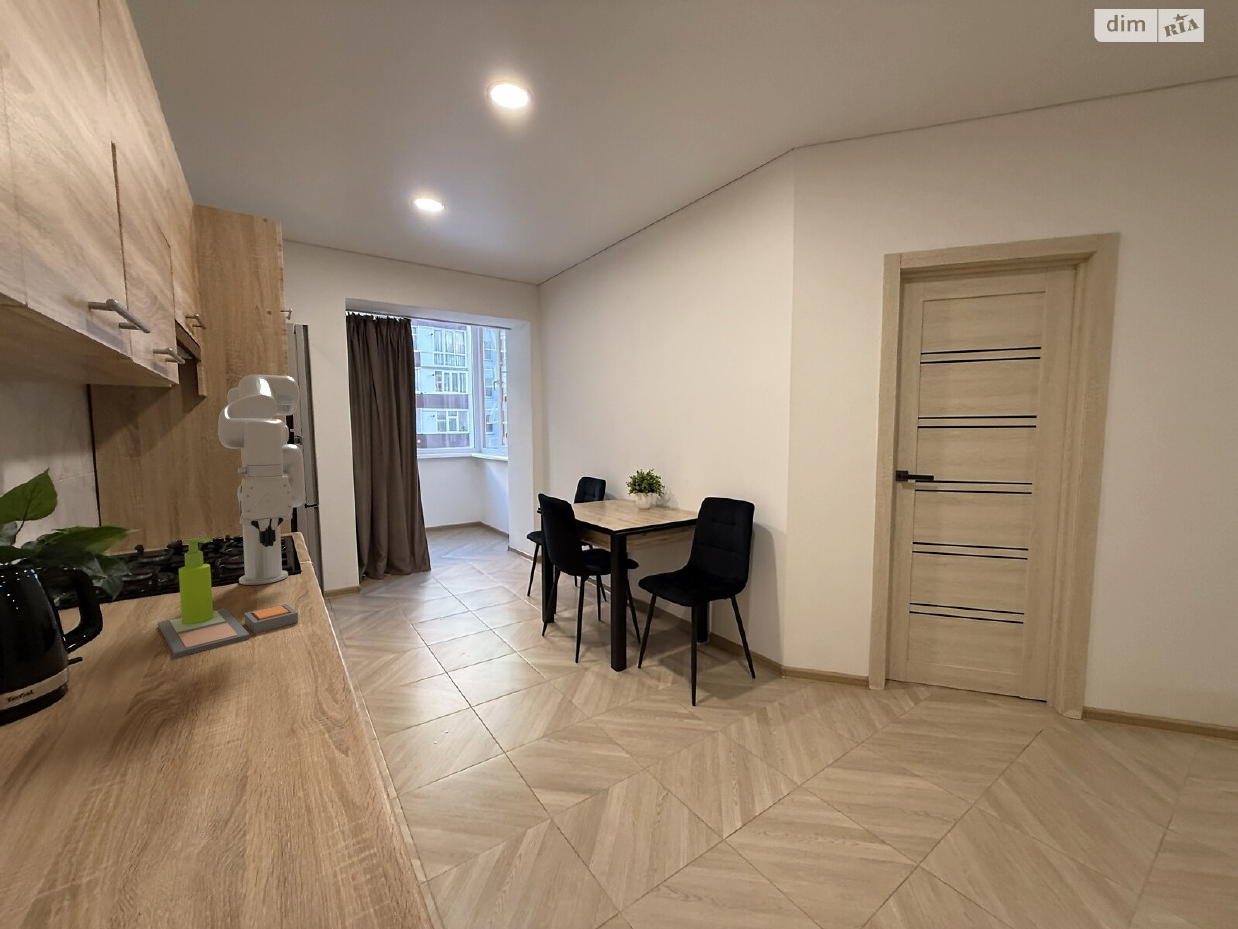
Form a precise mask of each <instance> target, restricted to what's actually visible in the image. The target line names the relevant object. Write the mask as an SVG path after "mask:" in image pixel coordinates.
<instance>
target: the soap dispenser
mask: <svg viewBox="0 0 1238 929" xmlns="http://www.w3.org/2000/svg"><path fill="white" fill-rule="evenodd" d="M212 541H213V539H210V538H205V537H196V538H195V537H193V538H188V539H184V540H183V543H184V544H185V543H188V551H187V552H185V553H184V566H182V567H180V568H178V582H179V598H180V613H181V617H182V623H183V624H194V623H200V622H204V621H207V620H210V619H211V618H213V611H214V604H213V590H212V589H213V588H212V576H211V575H212V572H211V564H209V563H204V552H203V551H201V550H199V545H198V544H199V543H202V544H206V543H210V542H212Z"/></svg>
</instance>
